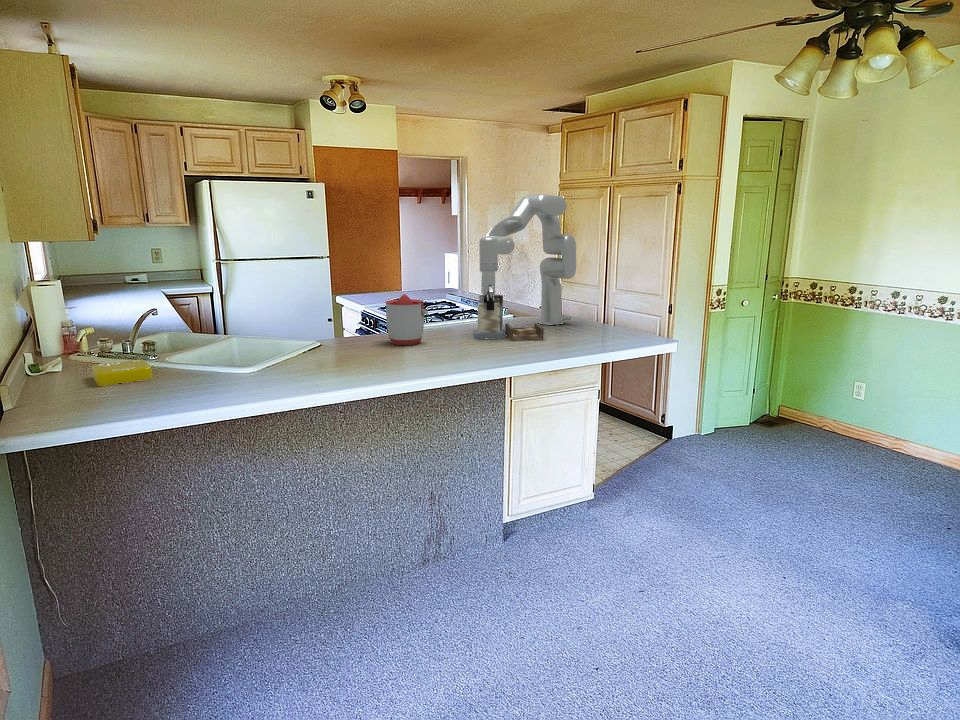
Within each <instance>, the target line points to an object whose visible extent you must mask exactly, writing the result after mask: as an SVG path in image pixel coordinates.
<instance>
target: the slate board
mask: <svg viewBox="0 0 960 720" xmlns="http://www.w3.org/2000/svg"><path fill="white" fill-rule="evenodd" d="M504 336H505V333H504V331H503V329H502V330H500V332H493V333H479V332H478V329H476V330H475V329H474V330H473V337H475V338H474V339H478V340H486V339H485V338H504V339H505V337H504Z"/></svg>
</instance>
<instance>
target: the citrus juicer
mask: <svg viewBox="0 0 960 720" xmlns="http://www.w3.org/2000/svg"><path fill="white" fill-rule="evenodd" d="M384 303H385V314H386V315H385V316H386V318H385V320H386V329H387V333H388V336H389V337H388V338H389V340H390V342H391V344H393V345H395V344H396V345H395V346H399V345H401V346H402V345H403V346H407V345H408V346H415V345H416V344H419V343H421V341H422V338H423V334H424V328H425V315H426V316H429V315H430V313H429V311H428V309H425V307H424V305H425V303H424V300H420V299H411V298H410V297H409V296H408V294H405V293H403V294H402V295H401V296H400V297H399V299H391V300H386V301H385V302H384Z"/></svg>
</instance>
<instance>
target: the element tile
mask: <svg viewBox="0 0 960 720" xmlns="http://www.w3.org/2000/svg"><path fill="white" fill-rule="evenodd" d="M152 370H153V369H152V366H151V365H150V364H149V363H148V362H147V361H146V360H144V359H133V360H125V361H117V362H105V363H104V362H102V363H99V364H94V365H92V366H91V373H92V379H93V378H94V379H93V381H94V380H95V381H94V383H95V382H96V383H95V385H96V386H97V385H98V386H97V387H101V386H102V387H105V386H104V385H111V384H118V383H125V382H132V381H139V380H145V379H149V378H152V377H153V371H152ZM152 379H153V378H152ZM139 382H140V381H139ZM132 383H133V382H132ZM125 384H126V383H125ZM118 385H119V384H118ZM111 386H112V385H111Z"/></svg>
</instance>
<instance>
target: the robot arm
mask: <svg viewBox="0 0 960 720" xmlns="http://www.w3.org/2000/svg"><path fill="white" fill-rule="evenodd" d="M567 207H568V204H567V201H566V199H565V198H564V197H563V196H561V195H551V194H545V193H540V194H526V195H524V196H523V197H522V198H521V199H520V200H519V202H518V203H517V204H516V206H515V207H514V208H513V210H512V212H511V213H510V214H509V215H508V216H507V217H505V218H504V219H502V220H500V221H498V222H497V223H496V224H495V225H493V226H492V227H491V228H490V229H489V230H488V232H487V233H486V234H485V236H484V237H481V238H480V239H479V272H480V273H481V286H480V287H481V289H480V292H481V294H482V295H484V297H485V298H484V303H486V309H487V310H494V295H496V273H497V272H498V271H499V268H498V267H499V266H498V265H499V262H498V261H499V259H498V258H499V255H500V256H501V255H503V256H504V255H510V254H511V253H512V252H513V251H514V249H515V242H514V240H513V239H512V238H511V237H510V235H513V234H516V233H518V232H521V231H523V230H524V229H526V227H527V226H528V224H529V222H530V221H531V219H532V218H533V217H534V216H535V215H536V217H537V218H538V219H539V221H540V223H541V229H542V231H541V232H542V235H541V236H542V249H543V252H544V253H545V254H547V255H555V256H561V257H555V256H553V257H551V256H550V257H545V258H543V259H542V260H541V261H540V265H539V271H540V278H541V279H540V280H541V292H540V293H541V300H540V302H541V303H540V319H539V320H537V323H541V324H561V323H564V324H565V322H564V321H571V319H572V317H571V315H563V314H562V294H563V293H562V292H563V290H562V289H563V287H562V284H561V281H560V279H567V280H570V279H572V278H574V277H575V275H576V273H577V271H576V270H577V242H576V240H575V237H574V236H573V235H572V234H567V233H566V234H565V233H562V229H561V220H560V218H559V216H562V215H563V214H564V213H566V211H567Z"/></svg>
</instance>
